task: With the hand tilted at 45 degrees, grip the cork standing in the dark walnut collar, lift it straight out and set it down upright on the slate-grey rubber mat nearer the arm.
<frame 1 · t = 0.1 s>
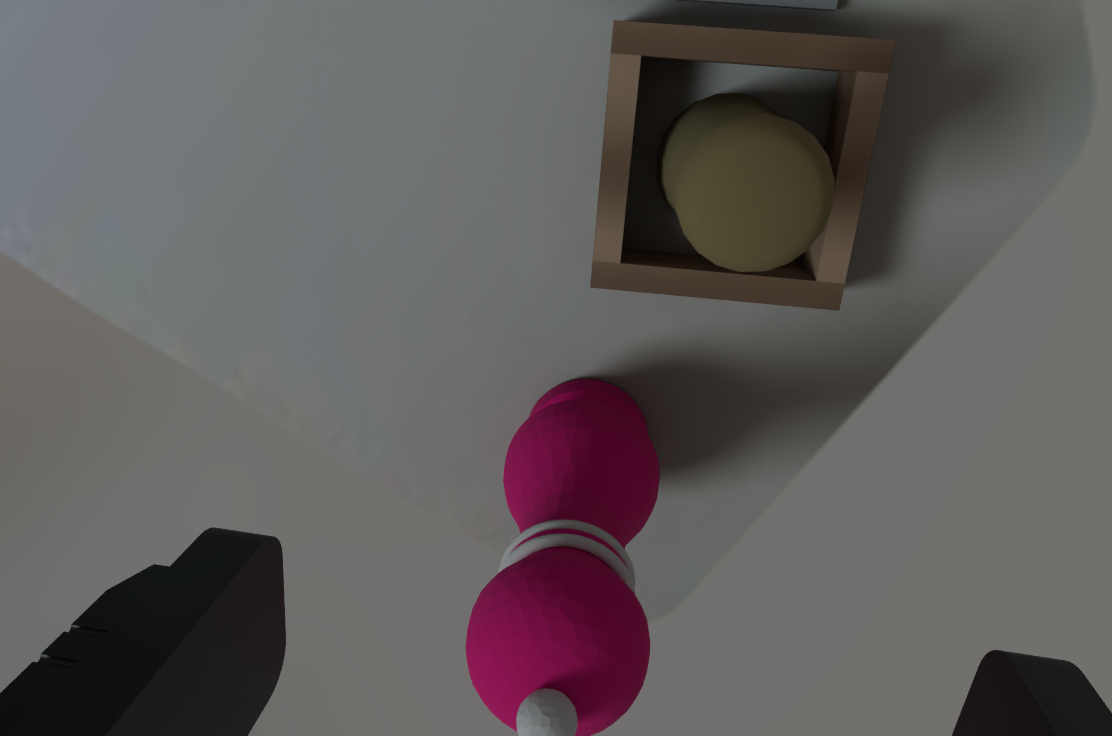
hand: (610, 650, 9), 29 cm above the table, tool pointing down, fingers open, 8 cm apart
walnut collar: (724, 164, 35), on the table
pepper mill: (587, 432, 40), on the table
cork: (724, 164, 35), resting in walnut collar
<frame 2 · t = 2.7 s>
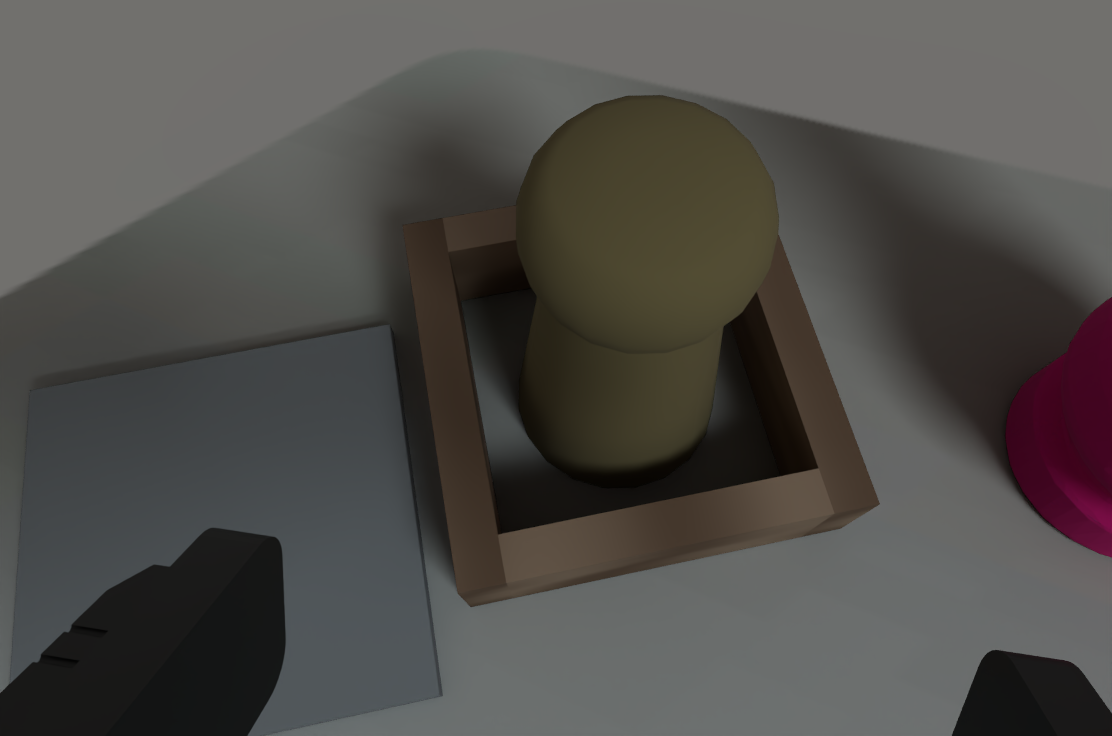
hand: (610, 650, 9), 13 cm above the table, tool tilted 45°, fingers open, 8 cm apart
walnut collar: (615, 393, 24), on the table
rubber mat: (226, 535, 22), on the table
pepper mill: (1105, 459, 23), on the table
cork: (614, 395, 24), resting in walnut collar
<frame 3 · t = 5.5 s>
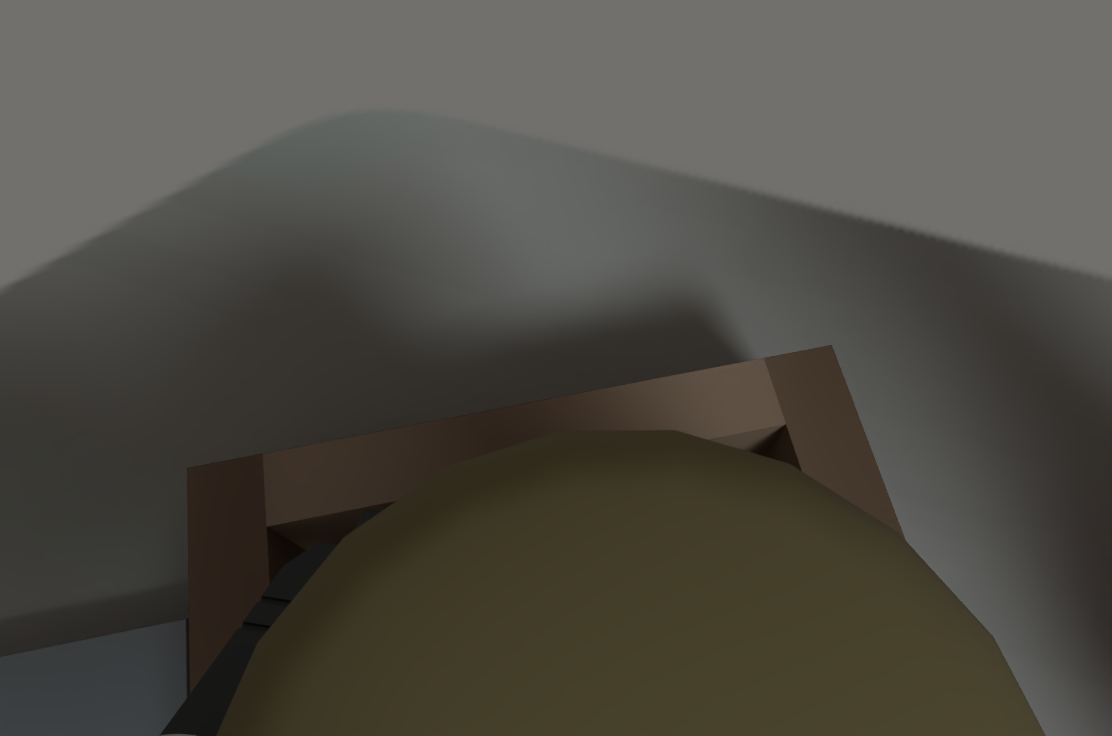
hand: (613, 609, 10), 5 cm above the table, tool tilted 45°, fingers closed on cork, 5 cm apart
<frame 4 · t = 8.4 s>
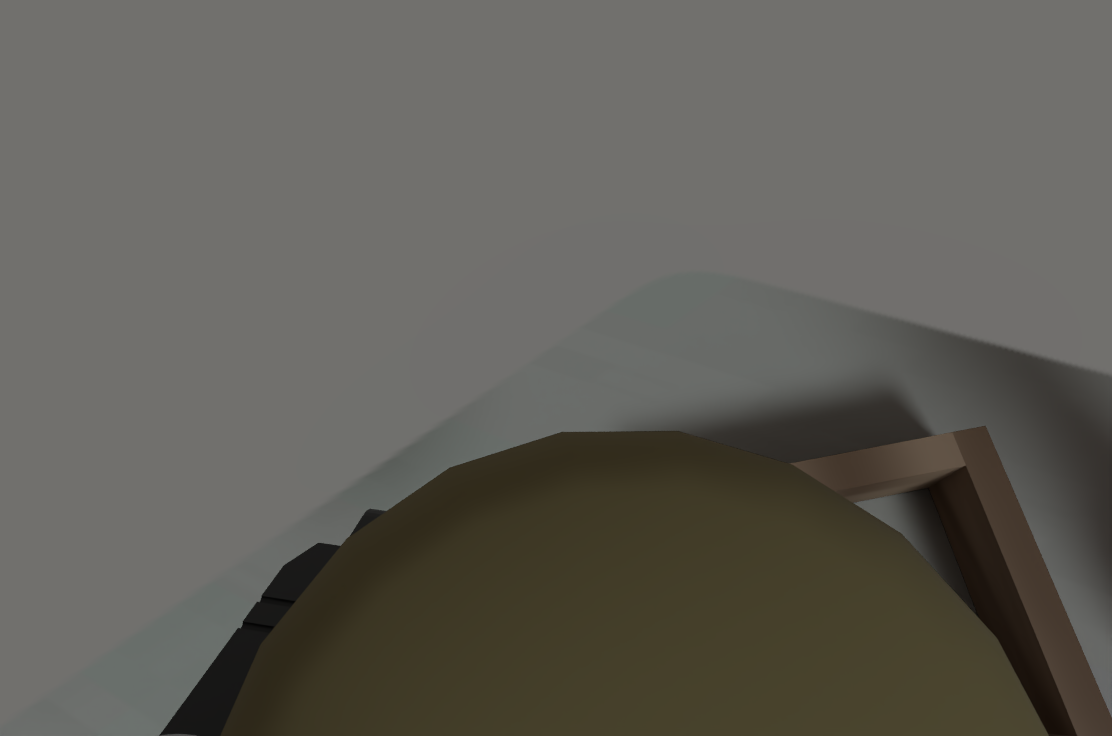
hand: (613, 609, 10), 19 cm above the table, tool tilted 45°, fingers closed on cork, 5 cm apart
walnut collar: (858, 626, 27), on the table
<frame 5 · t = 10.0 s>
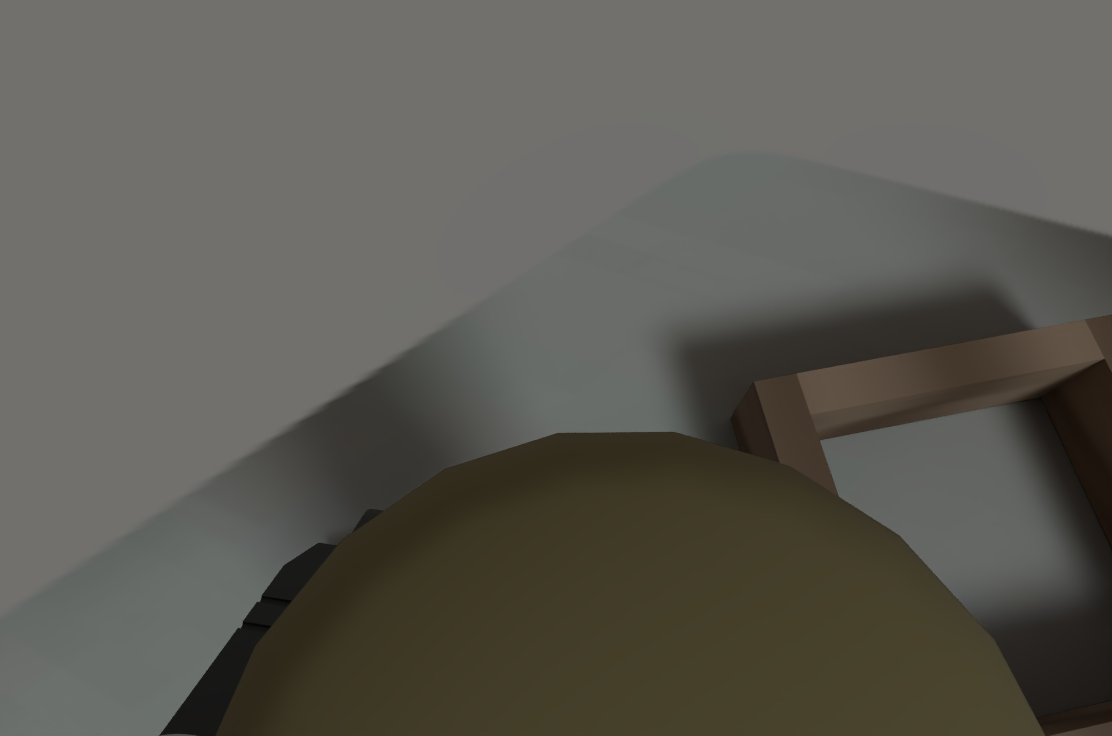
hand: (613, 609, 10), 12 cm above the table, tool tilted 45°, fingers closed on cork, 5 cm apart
walnut collar: (966, 559, 22), on the table
when the fingers open (7 cm above the table, at t = 11.4 s): cork drops 1 cm, resting on rubber mat.
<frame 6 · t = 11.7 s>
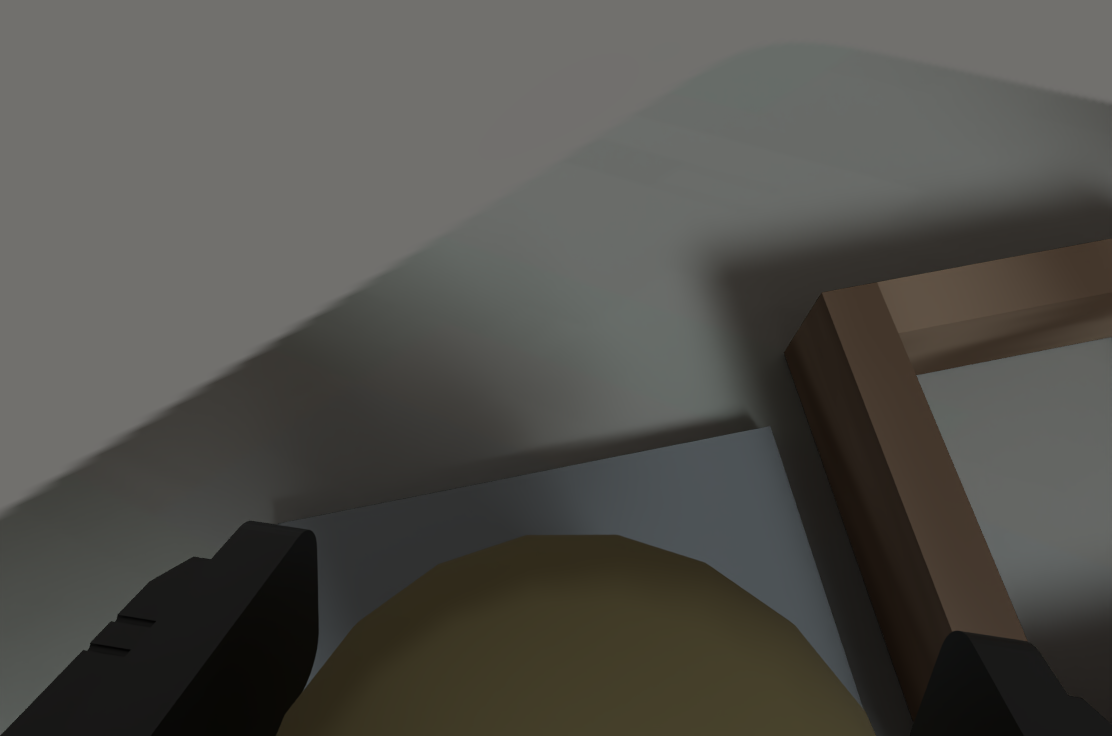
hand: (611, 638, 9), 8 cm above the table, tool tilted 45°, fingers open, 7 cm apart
walnut collar: (1096, 526, 17), on the table
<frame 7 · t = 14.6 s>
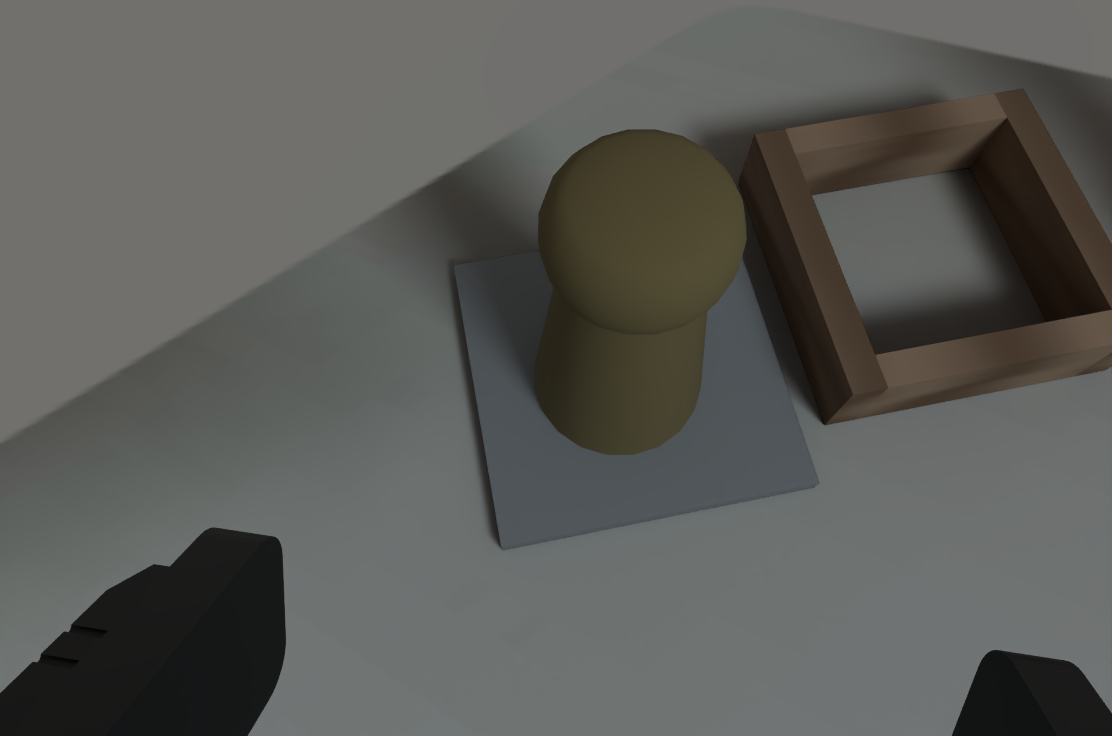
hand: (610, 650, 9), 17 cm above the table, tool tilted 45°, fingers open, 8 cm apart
walnut collar: (911, 271, 30), on the table
rubber mat: (623, 373, 29), on the table
cork: (616, 377, 28), resting on rubber mat
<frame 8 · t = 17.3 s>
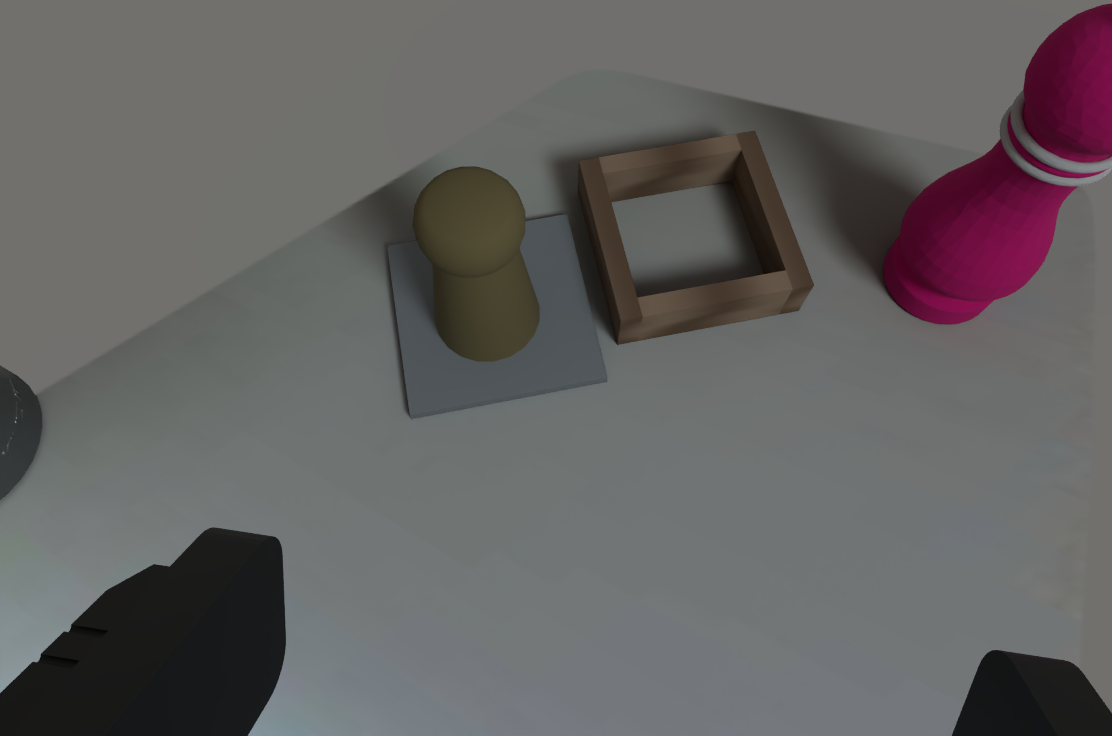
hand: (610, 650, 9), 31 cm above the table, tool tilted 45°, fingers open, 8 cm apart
walnut collar: (684, 248, 47), on the table
rubber mat: (493, 313, 45), on the table
pepper mill: (934, 280, 46), on the table
cork: (487, 315, 45), resting on rubber mat
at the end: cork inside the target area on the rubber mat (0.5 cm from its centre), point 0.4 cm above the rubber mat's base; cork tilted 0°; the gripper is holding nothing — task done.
